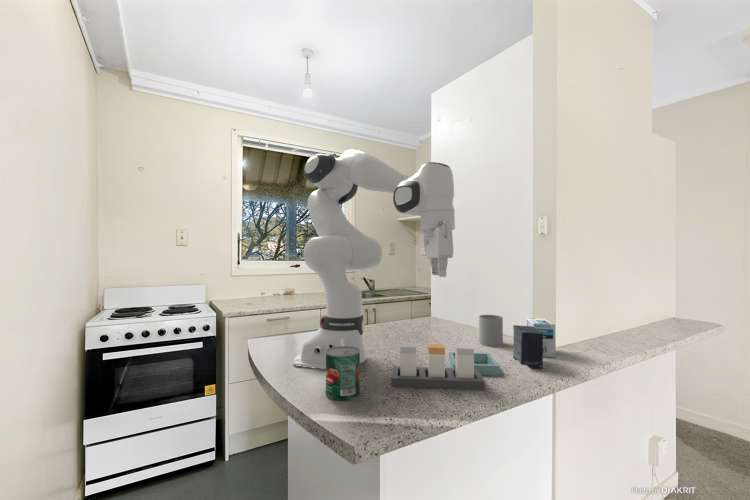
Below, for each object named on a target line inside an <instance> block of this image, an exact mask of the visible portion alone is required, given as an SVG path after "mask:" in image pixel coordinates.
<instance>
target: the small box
mask: <svg viewBox="0 0 750 500" xmlns="http://www.w3.org/2000/svg"><path fill="white" fill-rule="evenodd" d="M512 328H513V347H512V349H513V351H512V358H513V359H514V360H515V361H517V362H518V363H519V364H520V365H522V366H527V368H530V369H541V370H542V369H543V367H544V361H543V360H544V357H543V333H542V332H540V331H539V330H537V329H536V328H534V327H533V326H527V325H516V324H513V327H512Z"/></svg>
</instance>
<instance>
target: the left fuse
mask: <svg viewBox="0 0 750 500" xmlns="http://www.w3.org/2000/svg"><path fill="white" fill-rule="evenodd" d="M399 352H400V353H399V355H400V358H399V359H400V360H399V362H400V363H399V366H400V376H416V367H417V343H416V342H400V346H399Z"/></svg>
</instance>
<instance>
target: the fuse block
mask: <svg viewBox="0 0 750 500" xmlns="http://www.w3.org/2000/svg"><path fill="white" fill-rule="evenodd" d="M391 374H392V375H391V387H392V388H393V387H395V388H414V389H415V388H417V389H418V388H419V389H440V390H442V389H445V390H446V389H447V390H448V389H449V390H467V391H469V390H470V391H471V390H473V391H486V390H485V387H486V386H485V379H484V378H483V375H481V374H480V373H479V371H478V369H474V378H455V368H451V367H445V377H428V366H427V367H425V366H416V376H400V365H399V366H396V365H395V366H393V367H392V373H391Z"/></svg>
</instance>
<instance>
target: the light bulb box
mask: <svg viewBox="0 0 750 500" xmlns="http://www.w3.org/2000/svg"><path fill="white" fill-rule="evenodd" d="M526 326H533V327H534V328H536V329H537V330H539V331H540V332H542V333H543V358H557V357H556V356H557V355H556V350H557V349H556V324H555V323H554V322H552V321H550V320H548V319H547V318H537V317H526Z"/></svg>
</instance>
